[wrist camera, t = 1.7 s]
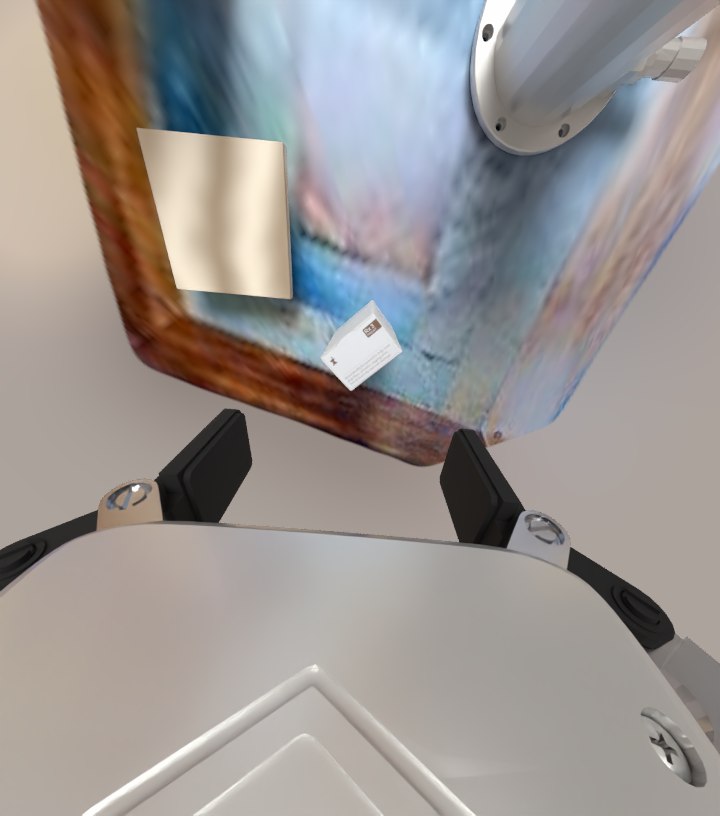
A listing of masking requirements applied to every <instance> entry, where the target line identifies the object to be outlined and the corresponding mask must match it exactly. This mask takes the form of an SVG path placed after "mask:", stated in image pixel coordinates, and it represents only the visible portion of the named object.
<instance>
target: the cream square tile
mask: <svg viewBox="0 0 720 816" xmlns="http://www.w3.org/2000/svg"><path fill="white" fill-rule="evenodd" d="M136 129H137V133H138V137H139V141H140V145H141V149H142V152H143V156H144V160H145V164H146V168H147V172H148V176H149V180H150V184H151V188H152V192H153V196H154V200H155V204H156V208H157V212H158V216H159V220H160V223H161V227H162V231H163V235H164V239H165V243H166V247H167V251H168V255H169V259H170V263H171V267H172V271H173V275H174V279H175V283H176V287H177V289H186V290H197V291H208V292H218V293H229V294H240V295H251V296H261V297H272V298H283V299H292V298H293V286H292V265H291V243H290V222H289V200H288V179H287V157H286V146H285V145H284V143H283V142H276V141H266V140H256V139H246V138H236V137H225V136H215V135H205V134H195V133H185V132H175V131H165V130H154V129H144V128H136Z"/></svg>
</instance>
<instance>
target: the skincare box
mask: <svg viewBox="0 0 720 816" xmlns="http://www.w3.org/2000/svg"><path fill="white" fill-rule="evenodd" d="M400 353H402V349H401V346H400V344H399V342H398V340H397V337H396V335H395V332H394V330H393V328H392V326H391V325H390V323H389V322H388V321H387V319H386V318H385V317H384V315H383V314H382V312H381V311H380V310H379V308H378V307H377V305H376V304H375V302H374V301H373V300H371V301H370V302H369V303H368V304H367V305H365V306H364V307H363V308H362V309H361V310H359V311H358V312H357V313H356V314H355V315H354V316H352V317H351V318H350V319H349V320H348V321H347V322H345V323H344V324H343V325H342V326H341V327H340V328H339V329H337V330H336V332H335V333H334V335H333V337H332V339H331V340H330V342H329V344H328V346H327V347H326V349H325V351H324V352H323V354H322V356H321V358H320V359H321V360H322V361H323V362H324V363H325V364H326V365H327V367H328V368H329V369H330V370H331V371H332V372H333V373H334V374H335V375H336V376H337V377H338V378H339V379H340V381H341V382H342V383H343V384H344V385H345V386H346V387H347V388H348V389H349V390H350V391H352V390H353V389H355V388H356V387H357V386H359V385H360V384H361V383H362V382H364V381H365V380H366V379H368V378H369V377H370V376H372V375H373V374H374V373H376V372H377V371H378V370H379V369H381V368H382V367H383V366H385V365H386V364H387V363H389V362H390V361H391V360H393V359H394V358H395V357H396V356H398V355H399V354H400Z"/></svg>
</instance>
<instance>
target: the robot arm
mask: <svg viewBox="0 0 720 816" xmlns="http://www.w3.org/2000/svg"><path fill="white" fill-rule="evenodd" d="M719 4H720V0H485V3H484V6H483V8H482V11H481V14H480V17H479V20H478V23H477V28H476V32H475V37H474V41H473V46H472V54H471V64H470V86H471V95H472V101H473V106H474V110H475V113H476V116H477V119H478V121H479V124H480V126H481V127H482V129H483V131H484V132H485V134H486V136H487V137H488V138H489V139H490V140H491V141H492V142H493V143H494V144H495V145H496V146H497V147H499V148H500V149H502V150H504V151H506V152H508V153H511V154H515V155H520V156H525V155H536V154H540V153H544V152H547V151H549V150H551V149H553V148H555V147H557V146H559V145H561V144H563V143H565V142H566V141H568V140H569V139H571V138H572V137H574V136H575V135H577V134H578V133H579V132H580V131H581V130H583V129H584V128H585V127H586V126H587V125H588V124H590V123H591V122H592V121H593V119H594V118H595V117H596V116H597V115H598V114H599V113H600V112H601V111H602V110H603V108H604V107H605V106H606V105H607V103H608V102H609V100H610V99H611V98H612V96H613V95H614V94H615V92H616V91H617V89H618V88H619V87H620V86H621V85H622V84H629V85H632V84H634V83H637V82H638V81H639V80H640V79H641V78H642V77H644V78H652V80H656V81H666V82H676V83H677V82H679V81H681V80H682V79H684V78H685V77H686V76H687V75H688V74H689V73H690V72H691V71H692V70H693V68H694V67H695V66H696V64H697V63H698V62H699V60H700V59H701V57H702V55H703V53H704V51H705V49H706V45H707V41H706V40H705V39H702V38H693V37H683V36H680V37H678V38H675V37H676V36H677V35H679V34H680V33H681V32H683V31H684V30H685V29H687V28H688V27H689V26H691V25H692V24H693V23H695V22H696V21H697V20H699V19H700V18H701V17H703V16H704V15H705V14H707V13H708V12H710V11H711V10H712V9H714V8H715V7H716V6H718V5H719ZM483 37H485V38H486V42H485V41H483ZM496 126H499V131H497V130H496ZM559 132H560V137H559V134H558V133H559ZM251 466H252V457H251V451H250V445H249V439H248V433H247V426H246V420H245V415H244V414H243V413H241V412H240V410H235V409H224V410H223V411H222V412H221V413H220V414H219V415H218V416H217V417H215V419H214V420H212V421H211V422H210V423H209V424H208V425H207V426H206V428H204V429H203V430H202V431H201V432H200V433H199V434H198V435H197V436H196V437H195V438H194V439H193V440H192V441H191V442H190V443H189V444H188V445H187V446H186V447H185V448H184V449H183V450H182V451H181V452H180V453H179V454H178V455H177V456H176V457H175V458H174V459H173V460H172V461H171V462H170V463H169V464H168V465H167V466H166V467H165V468H164V469H163V470H162V471H161V472H160V473H159V476H158V477H157V478H156V479H155V480H154V481H153V480H151V479H137V480H133V481H129V482H126V483H124V484H121V485H119V486H117V487H116V488H114V489H112V490H111V491H110V492H108V493H107V494H106V495H105V496H104V497H103V498H102V500H101V501H100V504H99V507H98V510H97V511H94V512H91V513H89V514H86V515H84V516H81V517H79V518H76V519H73V520H71V521H69V522H66V523H63V524H61V525H58V526H56V527H53V528H51V529H48V530H45V531H43V532H40V533H38V534H35V535H32V536H30V537H27V538H25V539H22V540H20V541H17V542H15V543H13V544H11V545H9V546H6V547H5V548H3V549H1V550H0V816H720V664H719V663H718V662H717V661H716V660H715V659H713V658H712V657H711V656H710V655H709V654H707V653H706V652H705V651H704V650H702V649H701V648H700V647H699V646H698V645H696V644H695V643H694V642H693V641H691V640H690V639H689V638H688V637H686V638H684V639H681V638H680V637H679V636H678V635H677V634H675V631H674V628H673V625H672V623H671V621H670V620H669V618H668V617H667V615H666V614H665V612H664V611H663V610H662V609H661V608H660V607H659V605H657V604H656V603H655V602H654V601H653V600H652V599H651V598H650V597H649V596H647V595H646V594H644V593H643V592H642V591H640V590H639V589H637V588H636V587H634V586H632V585H631V584H629V583H628V582H626V581H624V580H623V579H621V578H619V577H618V576H616V575H615V574H613V573H612V572H609V571H608V570H607V569H605V568H603V567H602V566H600V565H598V564H597V563H595V562H594V561H592V560H591V559H589V558H587V557H586V556H584V555H583V554H581V553H579V552H578V551H576V550H575V549H573V548H571V547H570V545H571V542H570V537H569V535H568V533H567V532H566V530H565V529H564V528H563V527H562V526H561V525H560V524H559V523H558V522H557V521H555V520H554V519H552V518H551V517H549V516H548V515H546V514H543V513H541V512H537V511H534V510H525V509H524V507H523V506H522V504H521V502H520V501H519V499H518V498H517V496H516V494H515V493H514V491H513V490H512V488H511V487H510V485H509V484H508V482H507V480H506V479H505V477H504V476H503V474H502V473H501V471H500V469H499V468H498V466H497V465H496V464H495V462H494V460H493V459H492V457H491V456H490V454H489V452H488V451H487V449H486V448H485V446H484V445H483V443H482V442H481V440H480V438H479V437H478V435H477V434H476V432H475V431H474V430H468V429H459V430H458V432H455V433H454V435H453V438H452V441H451V444H450V447H449V450H448V453H447V456H446V459H445V462H444V466H443V469H442V472H441V475H440V485H441V488H442V490H443V494H444V497H445V500H446V503H447V506H448V509H449V512H450V515H451V518H452V521H453V524H454V527H455V530H456V533H457V536H458V539H459V542H451V541H441V540H429V539H418V538H405V537H394V536H383V535H370V534H358V533H346V532H334V531H321V530H308V529H295V528H281V527H268V526H255V525H241V524H227V523H219V521H220V519H221V518H222V516H223V514H224V513H225V511H226V509H227V507H228V506H229V504H230V502H231V501H232V499H233V497H234V495H235V494H236V492H237V491H238V488H239V487H240V485H241V484H242V482H243V480H244V479H245V477H246V475H247V473H248V472H249V470H250V468H251Z"/></svg>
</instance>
